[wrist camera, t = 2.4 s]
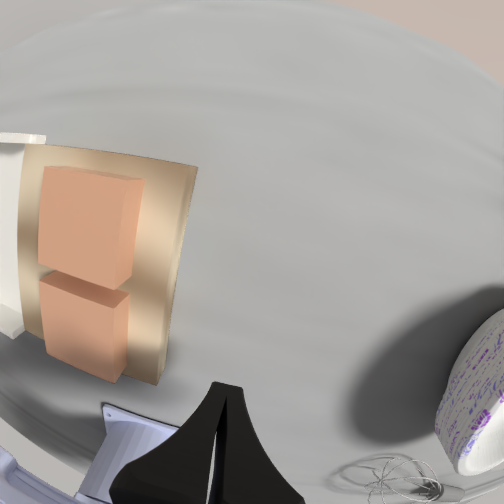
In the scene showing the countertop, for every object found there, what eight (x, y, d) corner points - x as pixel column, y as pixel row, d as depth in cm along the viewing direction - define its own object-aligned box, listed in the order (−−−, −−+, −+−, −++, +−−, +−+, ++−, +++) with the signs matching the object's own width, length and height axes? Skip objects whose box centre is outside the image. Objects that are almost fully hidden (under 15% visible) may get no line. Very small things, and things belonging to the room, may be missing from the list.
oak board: (165, 367, 18) (156, 385, 16) (39, 318, 18) (24, 329, 16) (198, 166, 15) (188, 166, 13) (45, 144, 14) (25, 143, 12)
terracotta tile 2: (131, 276, 14) (114, 290, 12) (58, 253, 14) (38, 262, 12) (145, 179, 13) (127, 180, 11) (66, 165, 13) (44, 166, 11)
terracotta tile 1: (127, 364, 16) (114, 383, 14) (62, 338, 16) (46, 353, 14) (130, 293, 14) (113, 308, 13) (58, 269, 14) (38, 280, 12)
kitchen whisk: (445, 500, 26) (454, 523, 20) (345, 468, 22) (356, 517, 15) (473, 480, 25) (485, 503, 19) (397, 436, 20) (417, 485, 14)
